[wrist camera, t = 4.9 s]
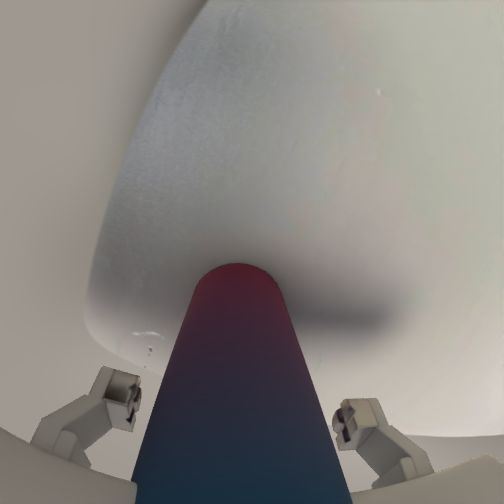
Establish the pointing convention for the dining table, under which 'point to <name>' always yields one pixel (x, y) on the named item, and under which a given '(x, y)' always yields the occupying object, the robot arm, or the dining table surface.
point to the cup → (238, 406)
